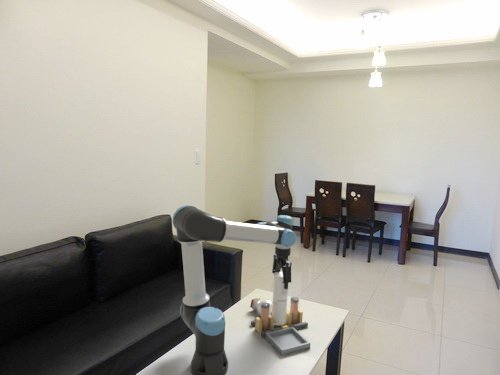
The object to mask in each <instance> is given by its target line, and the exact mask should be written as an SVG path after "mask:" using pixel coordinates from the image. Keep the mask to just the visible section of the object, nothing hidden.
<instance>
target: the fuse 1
mask: <svg viewBox="0 0 500 375" xmlns="http://www.w3.org/2000/svg"><path fill="white" fill-rule="evenodd" d="M269 307H270V304H269V303H262V304H261V316H260V319H261V320H262V332H264V331H268V330H269V328H268V327H269Z"/></svg>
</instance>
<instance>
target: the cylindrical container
mask: <svg viewBox="0 0 500 375" xmlns="http://www.w3.org/2000/svg"><path fill="white" fill-rule="evenodd" d="M273 276H274V277H273V290H272V291H273V292H272V293H273V294H272V302H273V307H272V317H273V318H274V325H275V326H285V325H286V312H287V311H288V310H287V309H288V308H287V307H288V295H289V294H288V293H289V292H287V295H282V283H283V282H284V280H283V272H282V271H280V272H275V273H273Z"/></svg>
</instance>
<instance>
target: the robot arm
mask: <svg viewBox="0 0 500 375" xmlns="http://www.w3.org/2000/svg"><path fill="white" fill-rule="evenodd" d="M171 220H172V224H173V227H174V228H175V230H176V238H177V239H176V240H177V242H179V243H180V245H181V254H182V255H181V256H182V266H183V279H184V281H183V282H184V292H185V293H184V294H185V296H183V297H182V304H181V305H180V312H179V314H180V316H181V319H182V321H183V322H184V323H185V325H186V326H187V327H188V328H189V329H190V331H191V332H192V333H193V335H194V337H195V350H194V353H193V356H192V359H191V361H190V371H191V373H192V375H225V374H226V373H227V372H228V369H229V359H228V356H227V354H226V351H225V338H226V317H225V314H224V312H223V311H222V310H221V309H219V308H218V307H214V306H211V301H210V299H211V298H210V295H209V294H208V293H207V291H206V280H205V266H204V265H205V264H204V253H203V252H204V251H203V249H204V248H203V242H213V243H214V242H216V243H221V242H223V241H224V240H225V241H235V242H247V243H248V242H249V243H258V244H268V245H269V244H271V245H275V248H274V249H275V251H274V253H275V254H273V264H272V268H271V270H272V272H271V273H272V274H274V273H275V272H283V280H284V282H283V283H282V295H287V292H288V291H289V283H292V264H293V263H292V261H291V262H290V261H289V257H290V256H291V249H292V248H291V247H292V246H294V245H295V244H296V242H297V241H296V240H297V235H296V233H295V231H293V218H292V216H290V215H285V214H284V215H283V214H280V215H277V216H276V220H270V221H261V222H257V223H247V222H239V221H231V220H226V219H225V218H224V217H220V216H215V215H212V214H210V213H207V212H205V211H204V210H201V209H199V208H197V207H196V206H193V205H182V206H180V207H179V208H177V209H176V210H175V212H174V213H173V215H172V219H171ZM281 270H282V271H281ZM288 293H289V292H288ZM287 296H288V295H287Z"/></svg>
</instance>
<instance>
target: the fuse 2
mask: <svg viewBox="0 0 500 375" xmlns="http://www.w3.org/2000/svg"><path fill="white" fill-rule="evenodd" d="M299 300H300V298H298V297H297V296H292V297H290V306H289V312H290V313H291V314H292V323H291V325H294V324H298V322H297V320H298V309H299V302H300V301H299Z"/></svg>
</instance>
